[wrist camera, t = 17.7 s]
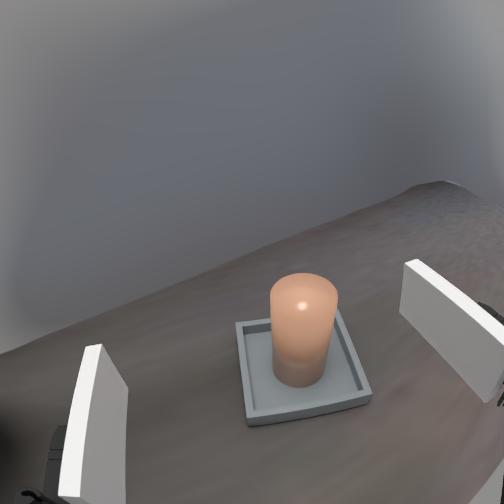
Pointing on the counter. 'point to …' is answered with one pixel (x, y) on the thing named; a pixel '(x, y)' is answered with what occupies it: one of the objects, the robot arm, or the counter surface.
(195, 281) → the counter surface
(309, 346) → the light orange tall cylinder
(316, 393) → the grey tray
